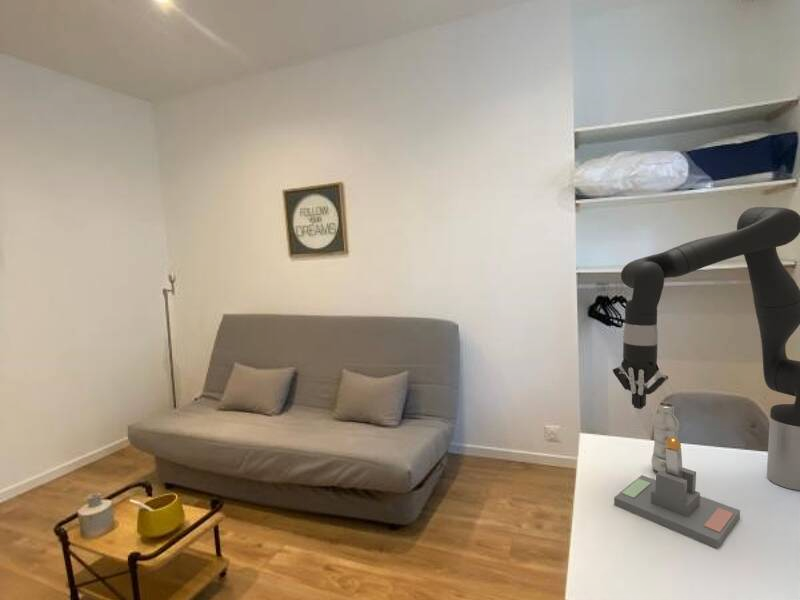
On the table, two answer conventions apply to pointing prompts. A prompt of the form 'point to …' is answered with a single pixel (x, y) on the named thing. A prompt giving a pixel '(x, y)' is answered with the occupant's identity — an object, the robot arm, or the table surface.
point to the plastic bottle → (663, 434)
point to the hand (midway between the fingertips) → (638, 407)
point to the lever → (674, 457)
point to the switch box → (679, 507)
